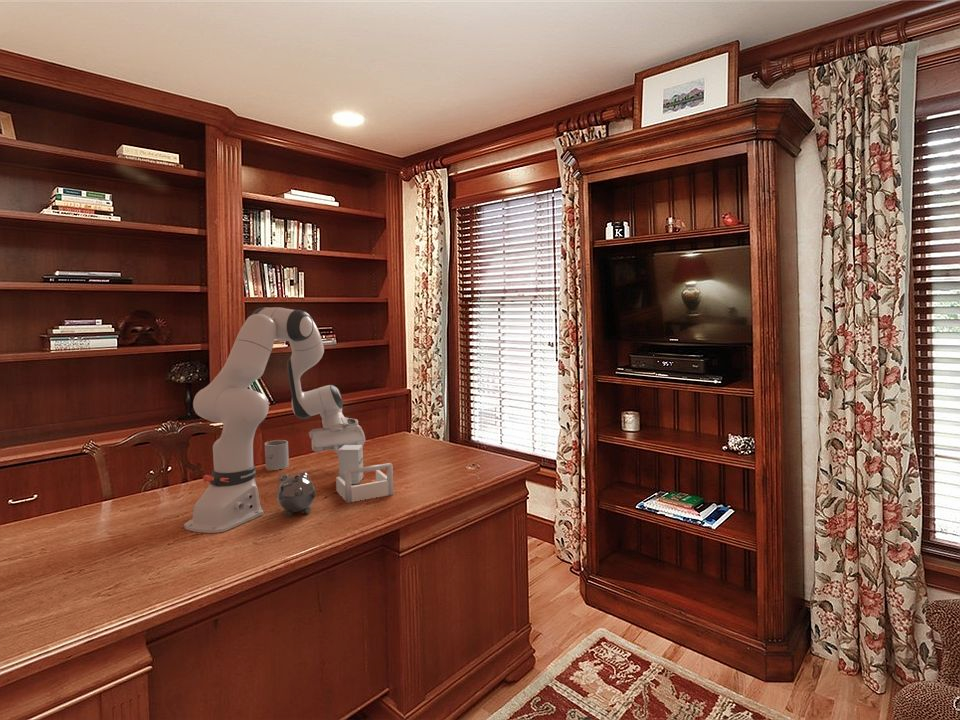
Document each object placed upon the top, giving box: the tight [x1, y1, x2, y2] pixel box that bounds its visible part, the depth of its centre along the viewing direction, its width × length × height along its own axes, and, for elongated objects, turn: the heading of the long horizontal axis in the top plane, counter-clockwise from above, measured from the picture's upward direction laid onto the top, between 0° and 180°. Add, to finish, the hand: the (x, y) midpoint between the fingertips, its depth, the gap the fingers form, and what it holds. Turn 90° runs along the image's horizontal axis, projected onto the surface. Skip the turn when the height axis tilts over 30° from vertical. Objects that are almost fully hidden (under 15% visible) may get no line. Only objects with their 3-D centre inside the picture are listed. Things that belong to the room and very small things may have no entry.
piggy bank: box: [276, 471, 316, 518], centre depth 164 cm, size 11×15×12 cm
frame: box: [335, 462, 394, 504], centre depth 180 cm, size 14×16×11 cm
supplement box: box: [337, 444, 364, 485], centre depth 193 cm, size 7×7×13 cm
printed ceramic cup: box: [264, 439, 290, 471], centre depth 212 cm, size 12×9×10 cm
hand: (342, 456), depth 202 cm, fingers closed
